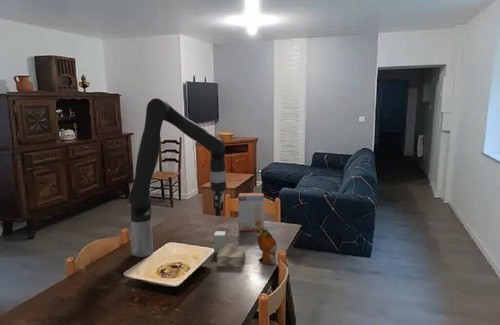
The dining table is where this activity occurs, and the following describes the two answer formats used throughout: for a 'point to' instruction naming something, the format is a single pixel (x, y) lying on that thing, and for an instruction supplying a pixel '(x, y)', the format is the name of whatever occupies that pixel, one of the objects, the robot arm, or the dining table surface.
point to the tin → (219, 240)
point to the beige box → (231, 256)
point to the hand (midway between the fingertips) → (219, 212)
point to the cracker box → (251, 211)
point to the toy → (267, 247)
